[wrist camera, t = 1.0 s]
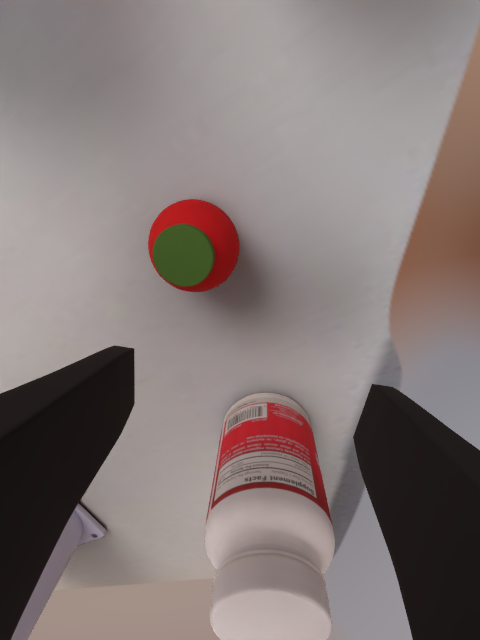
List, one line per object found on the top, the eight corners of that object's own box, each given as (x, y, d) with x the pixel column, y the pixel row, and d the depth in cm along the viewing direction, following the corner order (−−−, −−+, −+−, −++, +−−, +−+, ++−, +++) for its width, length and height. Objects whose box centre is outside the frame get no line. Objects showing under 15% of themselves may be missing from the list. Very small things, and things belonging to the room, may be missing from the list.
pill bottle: (286, 468, 23) (305, 682, 13) (211, 440, 23) (169, 642, 13) (326, 408, 21) (387, 612, 11) (243, 375, 20) (224, 558, 10)
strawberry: (191, 292, 18) (170, 322, 14) (148, 225, 17) (109, 237, 13) (256, 255, 17) (254, 276, 13) (215, 181, 16) (197, 178, 12)
